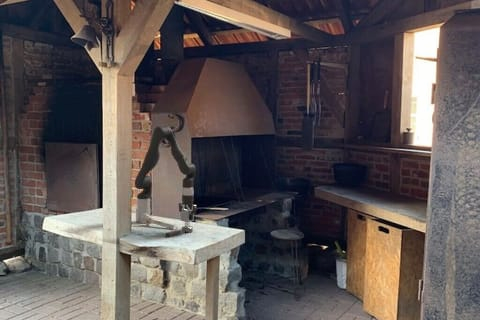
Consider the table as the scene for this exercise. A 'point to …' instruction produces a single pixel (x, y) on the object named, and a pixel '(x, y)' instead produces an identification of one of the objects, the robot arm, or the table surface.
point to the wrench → (157, 222)
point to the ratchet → (181, 230)
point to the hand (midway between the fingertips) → (187, 219)
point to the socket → (186, 216)
